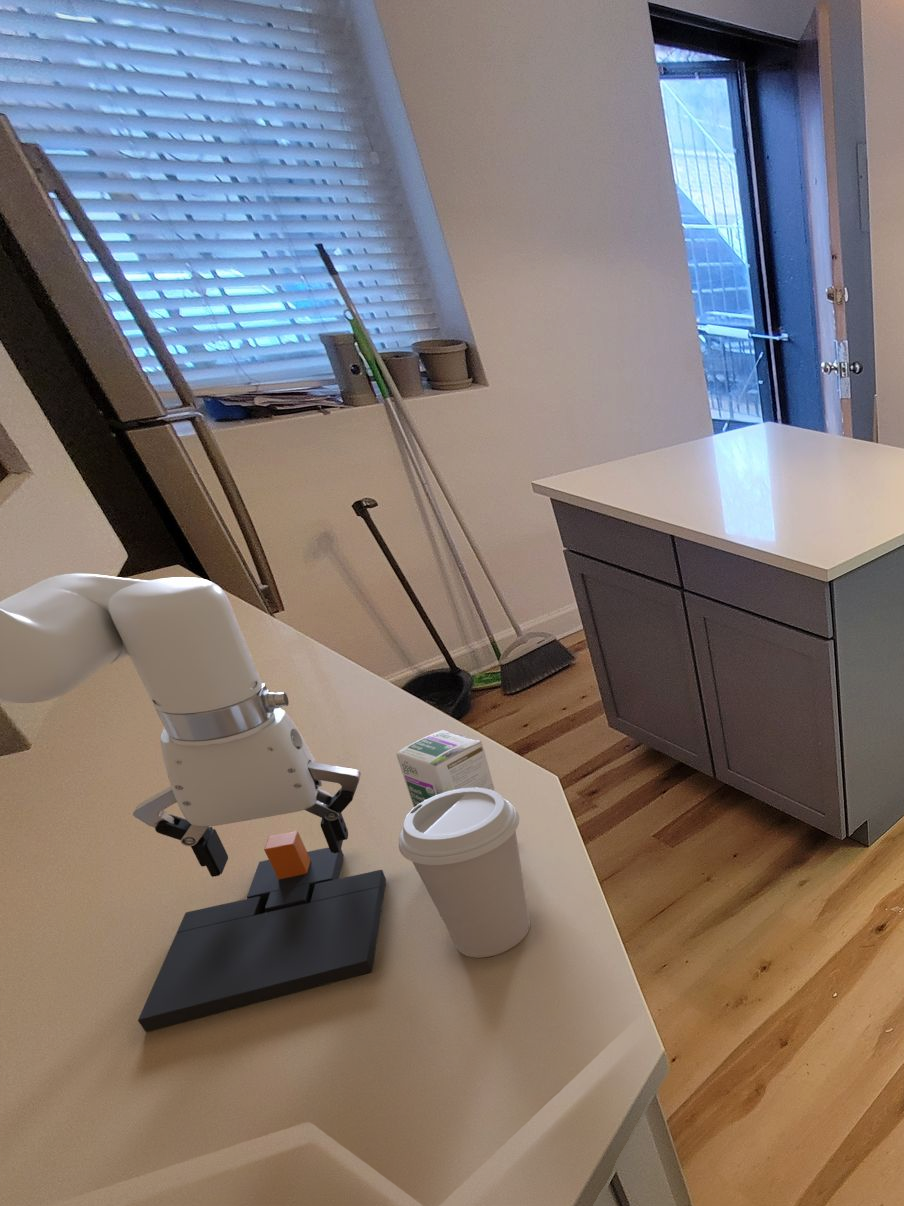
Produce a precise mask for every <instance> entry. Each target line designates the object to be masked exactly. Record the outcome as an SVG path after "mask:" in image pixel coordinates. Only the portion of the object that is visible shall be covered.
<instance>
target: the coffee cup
mask: <svg viewBox="0 0 904 1206" xmlns="http://www.w3.org/2000/svg"><path fill="white" fill-rule="evenodd" d="M519 824H520V815H519V813H518V811H517V810H516V808H515V806H514V805H513V804H512V803H511V802H510V801H508V799H506V798H504V797H503V795H502V794H500V793H499V792H498V791H496V790H495V791H493V790H490V789H485V788H462V789H456V790H451V791H447V792H444V793H441V794H438V795H435V796H433V797H431V798H429V799H427V800H425V801H423V802H421V803H420V804H418V805H417V806H415V807H413V808H411V809H410V810H409V812H408V813H407V814H406V815H405V817H404V819H403V823H402V827H401V829H400V833H399V837H398V850H399V853H400V854H401V855H402V856H403V857H404V859H406V860H407V861H410V862H411V863H412V864H413V866H414V868H415V870H416V871H417V873H418V875H419V877H420V879H421V882H422V883H423V885H424V886H425V889H426V891H427V892H428V895H429V896H430V898H431V900H432V902H433V904H434V907H435V908H436V909H437V912H438V914H439V916H440V918H441V920H442V922H443V923H444V925H445V927H446V929H447V932H448V934H449V935H450V937H451V939H452V941H453V942H454V945H455V947H456V948H457V949H456V950H458V952H459V953H461V954H462V955H463V956H466V957H469V958H474V959H475V958H477V959H478V958H480V959H481V958H489V957H494V956H497V955H500V954H503V953H505V952H507V951H509V950H511V949H512V948H514V947H516V946H517V945H518V944H519V943H521V941H523V940H524V938H525V937H526V936H527V935H528V933H529V930H530V928H531V922H530V921H531V920H530V914H529V907H528V902H527V896H526V895H527V894H526V889H525V883H524V877H523V870H522V864H521V856H520V850H519V844H518V836H517V831H516V830H518V827H519Z"/></svg>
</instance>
